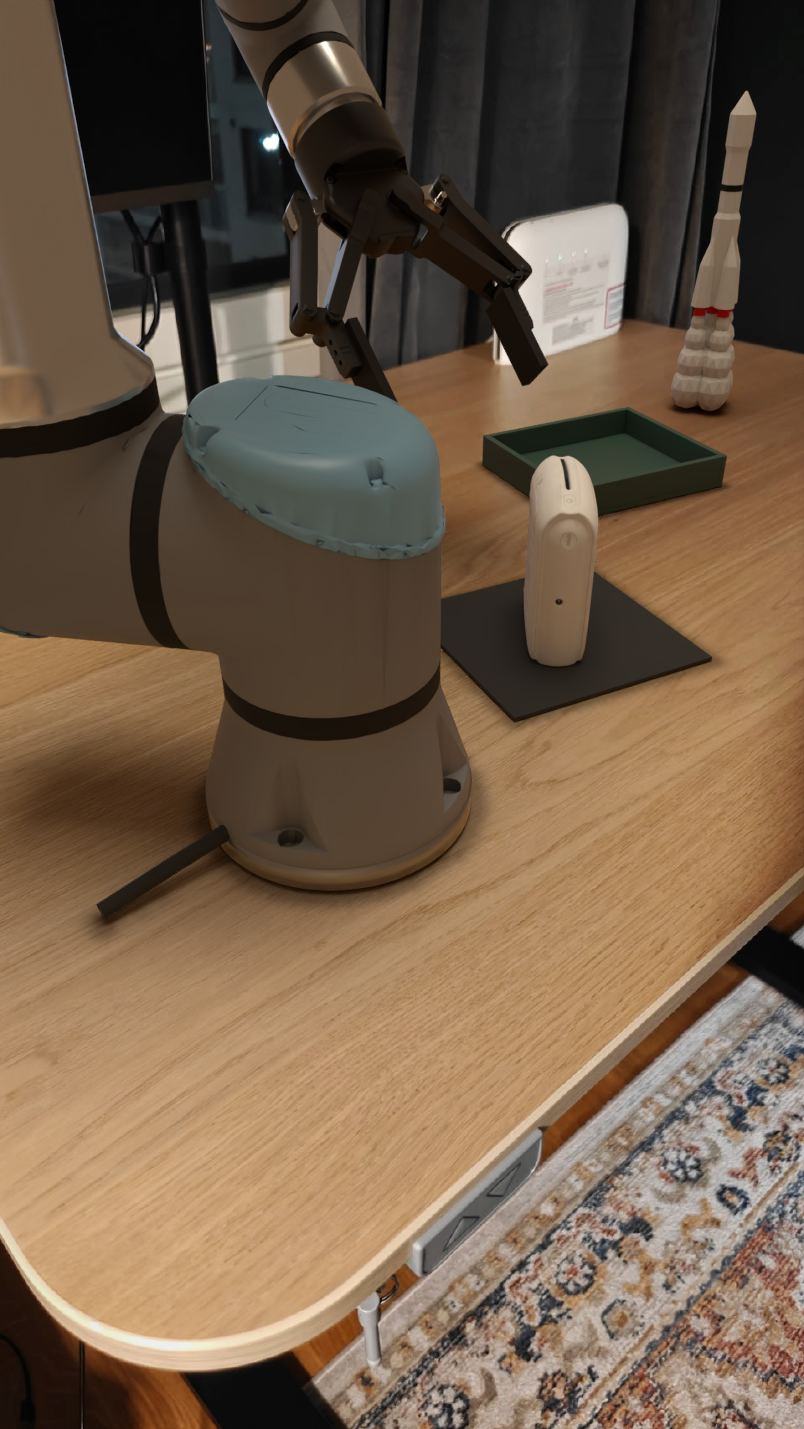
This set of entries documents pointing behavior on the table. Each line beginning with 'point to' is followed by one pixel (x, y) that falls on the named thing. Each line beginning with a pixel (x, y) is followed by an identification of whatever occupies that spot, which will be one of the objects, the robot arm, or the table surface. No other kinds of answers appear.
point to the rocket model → (717, 283)
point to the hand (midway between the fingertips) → (463, 394)
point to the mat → (615, 657)
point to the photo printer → (559, 561)
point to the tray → (610, 457)
